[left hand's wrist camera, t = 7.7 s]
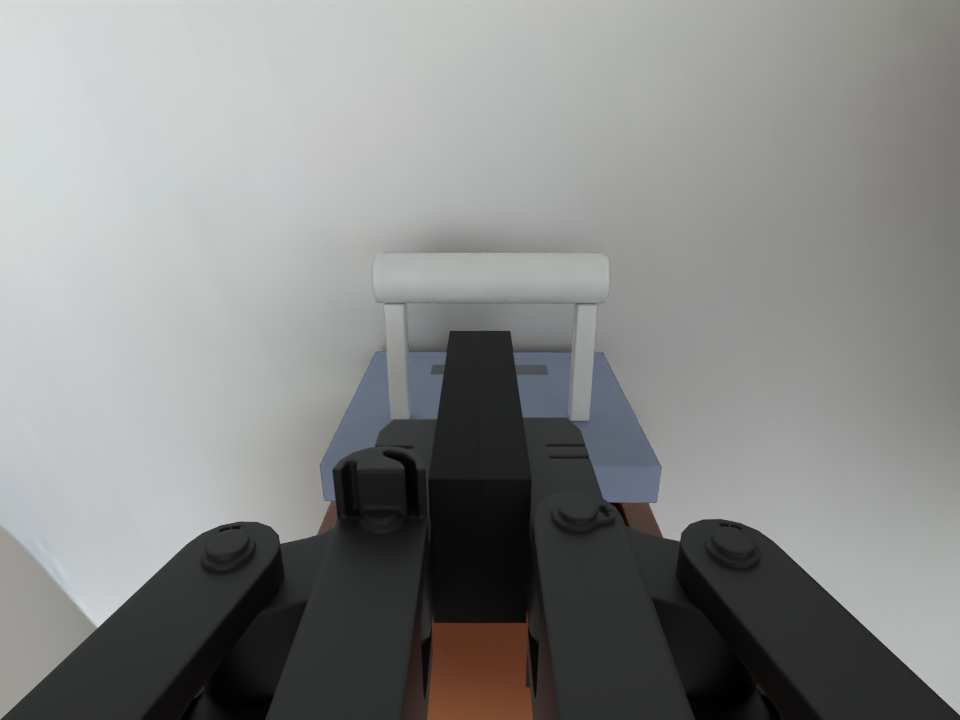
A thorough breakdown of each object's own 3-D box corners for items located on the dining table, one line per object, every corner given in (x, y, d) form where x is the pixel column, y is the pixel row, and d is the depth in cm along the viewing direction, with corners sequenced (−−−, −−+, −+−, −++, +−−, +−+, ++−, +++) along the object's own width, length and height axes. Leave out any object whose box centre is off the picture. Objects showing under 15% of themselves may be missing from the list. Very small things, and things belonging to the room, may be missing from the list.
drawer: (366, 222, 22) (296, 276, 14) (613, 222, 22) (687, 277, 14) (400, 691, 31) (369, 888, 23) (575, 693, 31) (605, 891, 23)
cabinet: (370, 405, 26) (298, 576, 16) (607, 406, 26) (681, 578, 16) (395, 729, 34) (357, 979, 24) (578, 731, 34) (617, 982, 24)
